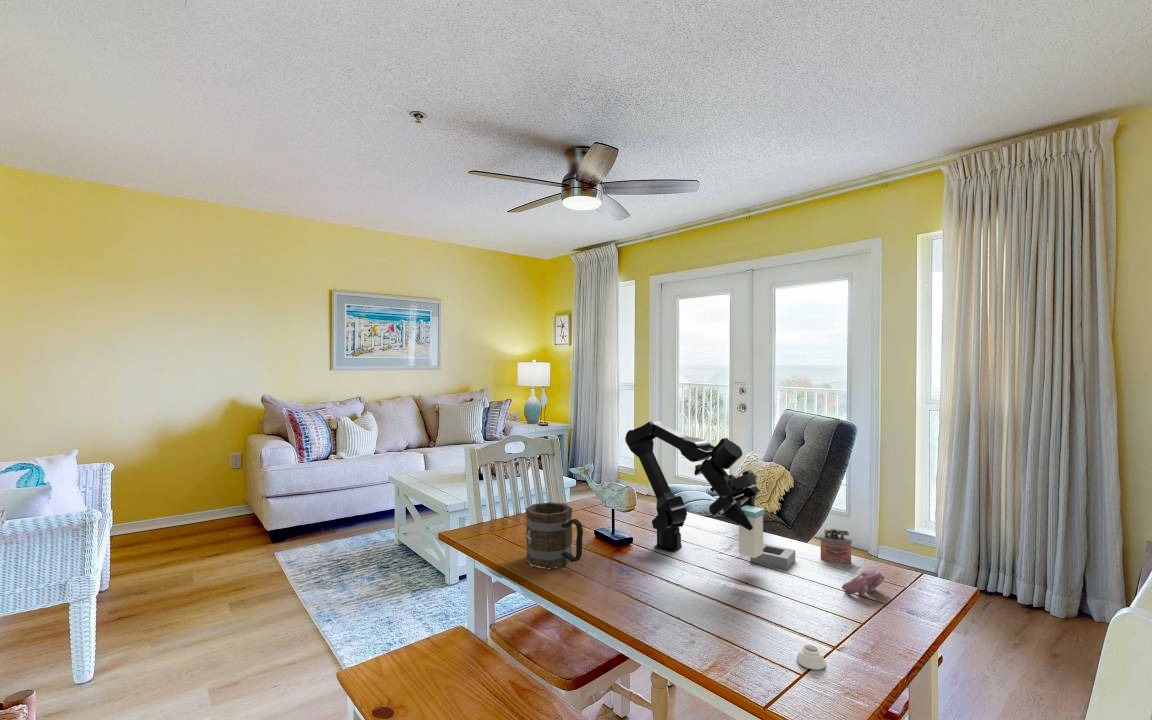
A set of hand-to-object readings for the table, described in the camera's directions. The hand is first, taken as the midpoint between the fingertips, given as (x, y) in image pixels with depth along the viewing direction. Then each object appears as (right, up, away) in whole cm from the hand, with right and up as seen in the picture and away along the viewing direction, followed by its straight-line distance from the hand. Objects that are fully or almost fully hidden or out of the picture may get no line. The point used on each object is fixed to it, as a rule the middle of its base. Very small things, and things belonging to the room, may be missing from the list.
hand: (755, 527), depth 138 cm
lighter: (+26, -13, +9) cm, 30 cm away
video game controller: (+24, -14, -9) cm, 29 cm away
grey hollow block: (+8, -13, +9) cm, 17 cm away
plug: (-1, -7, +1) cm, 7 cm away
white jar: (-3, -14, -39) cm, 41 cm away
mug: (-53, -14, +11) cm, 56 cm away
